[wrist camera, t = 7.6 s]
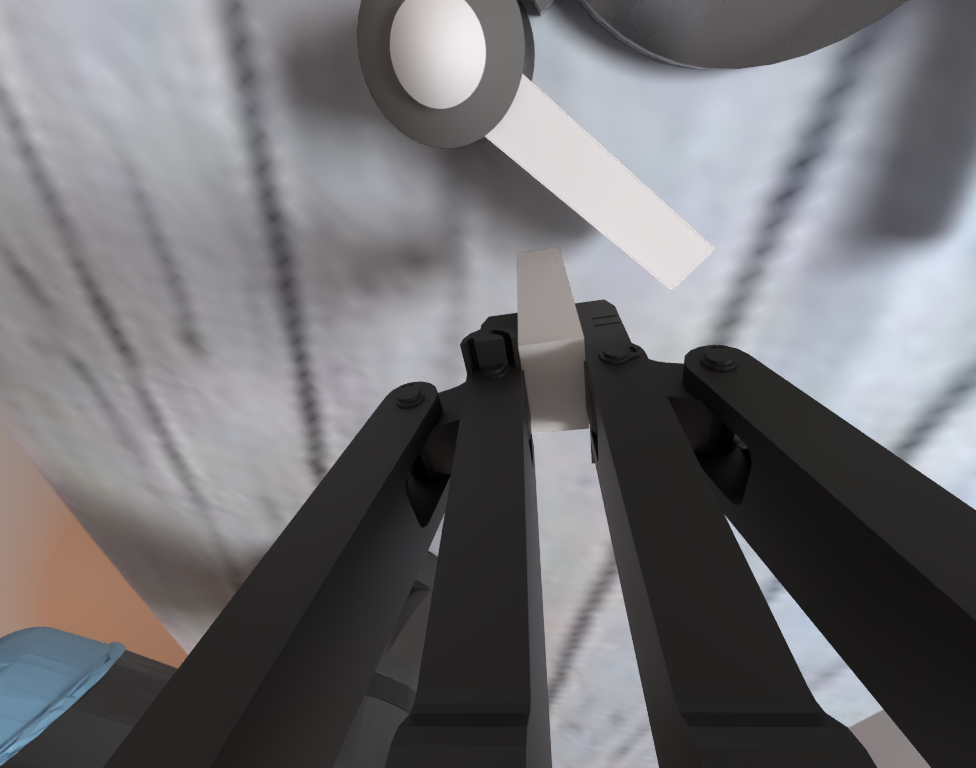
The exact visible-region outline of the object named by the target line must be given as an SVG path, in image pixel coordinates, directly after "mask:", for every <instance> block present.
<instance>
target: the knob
mask: <svg viewBox="0 0 976 768" xmlns="http://www.w3.org/2000/svg"><path fill="white" fill-rule="evenodd" d="M357 37H358V51H359V58H360V63H361V67H362V71H363V75H364V78H365V81H366V84H367V86H368V88H369V90H370V93H371V95H372V97H373V99H374V100H375V102H376V104H377V106H378V107H379V108H380V110H381V111H382V113H383V114H384V115H385V117H386V118H387V119H388V120H389V121H390V122H391V123H392V124H393V125H394V126H395V127H396V128H397V129H398V130H399V131H401V132H402V133H403V134H405V135H406V136H408V137H409V138H411V139H413V140H415V141H417V142H419V143H421V144H424V145H427V146H431V147H436V148H457V147H461V146H465V145H468V144H471V143H473V142H475V141H477V140H479V139H481V138H482V137H484V136H485V137H486V138H487V139H488V140H490V141H491V142H492V143H493V144H494V145H496V146H497V147H498V148H499V149H501V150H502V151H503V152H504V153H505V154H507V155H508V156H509V157H510V158H511V159H513V160H514V161H515V162H516V163H517V164H519V165H520V166H521V167H522V168H524V169H525V170H526V171H527V172H528V173H530V174H531V175H532V176H533V177H534V178H536V179H537V180H538V181H539V182H540V183H542V184H543V185H544V186H545V187H547V188H548V189H549V190H550V191H551V192H553V193H554V194H555V195H556V196H557V197H559V198H560V199H561V200H562V201H563V202H565V203H566V204H567V205H568V206H570V207H571V208H572V209H573V210H574V211H576V212H577V213H578V214H579V215H580V216H582V217H583V218H584V219H585V220H586V221H588V222H589V223H590V224H591V225H593V226H594V227H595V228H596V229H597V230H599V231H600V232H601V233H602V234H603V235H605V236H606V237H607V238H608V239H609V240H611V241H612V242H613V243H614V244H616V245H617V246H618V247H619V248H620V249H622V250H623V251H624V252H625V253H626V254H628V255H629V256H630V257H631V258H632V259H634V260H635V261H636V262H637V263H639V264H640V265H641V266H642V267H643V268H645V269H646V270H647V271H648V272H649V273H651V274H652V275H653V276H654V277H656V278H657V279H658V280H659V281H660V282H662V283H663V284H664V285H665V286H666V287H668V288H669V289H670V290H671V291H672V290H673V289H674V288H675V287H676V286H677V285H678V284H679V283H680V282H681V281H682V280H683V279H684V278H685V277H686V276H688V275H689V274H690V273H691V272H692V271H693V270H694V269H695V268H696V267H697V266H698V265H699V264H700V263H701V262H702V261H703V260H705V259H706V258H707V257H708V256H709V255H710V254H711V253H712V252H713V251H714V250H715V248H714V247H712V246H711V245H710V244H709V243H708V242H707V241H706V240H705V239H704V238H703V237H701V236H700V235H699V234H698V233H697V232H696V231H695V230H694V229H693V228H692V227H690V226H689V225H688V224H687V223H686V222H685V221H684V220H683V219H682V218H681V217H679V216H678V215H677V214H676V213H675V212H674V211H673V210H672V209H671V208H670V207H669V206H667V205H666V204H665V203H664V202H663V201H662V200H661V199H660V198H659V197H658V196H656V195H655V194H654V193H653V192H652V191H651V190H650V189H649V188H648V187H647V186H645V185H644V184H643V183H642V182H641V181H640V180H639V179H638V178H637V177H636V176H634V175H633V174H632V173H631V172H630V171H629V170H628V169H627V168H626V167H625V166H623V165H622V164H621V163H620V162H619V161H618V160H617V159H616V158H615V157H614V156H612V155H611V154H610V153H609V152H608V151H607V150H606V149H605V148H604V147H603V146H602V145H600V144H599V143H598V142H597V141H596V140H595V139H594V138H593V137H592V136H591V135H589V134H588V133H587V132H586V131H585V130H584V129H583V128H582V127H581V126H580V125H578V124H577V123H576V122H575V121H574V120H573V119H572V118H571V117H570V116H569V115H567V114H566V113H565V112H564V111H563V110H562V109H561V108H560V107H559V106H558V105H556V104H555V103H554V102H553V101H552V100H551V99H550V98H549V97H548V96H547V95H545V94H544V93H543V92H542V91H541V90H540V89H539V88H538V87H537V86H536V85H535V84H533V83H532V82H531V81H530V80H529V79H528V78H527V77H526V76H525V75H524V74H522V72H523V66H524V55H525V39H524V29H523V22H522V17H521V13H520V9H519V6H518V3H517V0H362V1H361V5H360V10H359V16H358V28H357Z"/></svg>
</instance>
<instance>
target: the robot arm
mask: <svg viewBox="0 0 976 768" xmlns="http://www.w3.org/2000/svg"><path fill="white" fill-rule="evenodd" d="M517 298H518V313H513V314H505V315H498V316H491V317H488V318H487V319H486V321H485V322H484V323H483V324H482V325H481V330H478V331H475V332H473V333H471V334H469V335H468V336H467V337H465V338H464V339H463V340H462V342H461V344H460V346H461V350H462V354H463V358H464V362H465V367H466V371H467V379H466V382H464V383H463V384H461V385H459V386H457V387H455V388H452V389H449V390H446V391H443V392H440V393H438V392H437V389H436V387H435V386H434V385H432V384H431V383H427V382H411V383H407V384H404V385H401V386H400V387H398V388H396V389H394V390H393V391H391V392H390V393H389V394H388V395H387V396H386V397H385V398H384V400H383V401H382V402H381V404H380V405H379V406H378V408H377V409H376V410H375V412H374V413H373V414H372V415H371V417H370V418H369V419H368V421H367V422H366V423H365V425H364V426H363V427H362V429H361V430H360V431H359V433H358V434H357V435H356V436H355V438H354V439H353V440H352V442H351V443H350V444H349V446H348V447H347V448H346V450H345V451H344V452H343V453H342V455H341V456H340V457H339V459H338V460H337V461H336V463H335V464H334V465H333V467H332V468H331V469H330V471H329V472H328V473H327V474H326V476H325V477H324V478H323V480H322V481H321V482H320V484H319V485H318V486H317V488H316V489H315V490H314V491H313V493H312V494H311V495H310V497H309V498H308V499H307V501H306V502H305V503H304V505H303V506H302V507H301V509H300V510H299V511H298V512H297V514H296V515H295V516H294V518H293V519H292V520H291V522H290V523H289V524H288V526H287V527H286V528H285V529H284V531H283V532H282V533H281V535H280V536H279V537H278V539H277V540H276V541H275V543H274V544H273V545H272V547H271V548H270V549H269V550H268V552H267V553H266V554H265V556H264V557H263V558H262V560H261V561H260V562H259V564H258V565H257V566H256V567H255V569H254V570H253V571H252V573H251V574H250V575H249V577H248V578H247V579H246V581H245V582H244V583H243V585H242V586H241V587H240V588H239V590H238V591H237V592H236V594H235V595H234V596H233V598H232V599H231V600H230V602H229V603H228V604H227V605H226V607H225V608H224V609H223V611H222V612H221V613H220V615H219V616H218V617H217V619H216V620H215V621H214V622H213V624H212V625H211V626H210V628H209V629H208V630H207V632H206V633H205V634H204V636H203V637H202V638H201V640H200V641H199V642H198V643H197V645H196V646H195V647H194V649H193V650H192V651H191V653H190V654H189V655H188V657H187V658H186V659H185V661H184V662H183V663H182V664H181V666H180V667H179V668H175V667H172V666H169V665H167V664H164V663H161V662H158V661H155V660H153V659H150V658H147V657H144V656H141V655H139V654H136V653H133V652H131V651H128V650H125V646H123V645H122V644H121V643H119V642H112V643H110V644H106V643H103V642H100V641H96V640H93V639H89V638H85V637H82V636H79V635H75V634H72V633H68V632H65V631H61V630H58V629H55V628H49V627H33V628H26V629H23V630H19V631H16V632H13V633H11V634H8V635H6V636H3V637H1V638H0V768H552V758H551V741H550V723H549V706H548V688H547V671H546V653H545V635H544V618H543V600H542V583H541V565H540V548H539V530H538V513H537V495H536V478H535V460H534V446H533V439H532V434H534V433H544V432H555V431H565V430H576V429H586V428H589V424H590V436H591V455H592V463H595V464H596V469H597V474H598V478H599V483H600V488H601V493H602V497H603V502H604V507H605V512H606V516H607V521H608V526H609V531H610V536H611V540H612V545H613V550H614V555H615V559H616V564H617V569H618V574H619V578H620V583H621V588H622V593H623V597H624V602H625V607H626V612H627V616H628V621H629V626H630V631H631V635H632V640H633V645H634V650H635V654H636V659H637V664H638V669H639V674H640V678H641V683H642V688H643V693H644V697H645V702H646V707H647V712H648V716H649V721H650V726H651V731H652V735H653V740H654V745H655V750H656V754H657V759H658V764H659V768H877V767H876V765H875V763H874V762H873V760H872V758H871V757H870V755H869V754H868V752H867V750H866V749H865V748H864V746H863V745H862V744H861V743H860V742H859V741H858V739H857V738H856V737H855V736H854V734H853V733H852V732H851V731H850V730H849V729H848V727H846V726H845V725H843V724H842V723H840V722H839V721H837V720H836V719H834V718H832V717H831V716H829V715H828V714H826V713H825V712H824V711H823V709H822V708H821V707H820V706H819V704H818V703H817V702H816V700H815V698H814V697H813V695H812V693H811V691H810V690H809V688H808V686H807V684H806V682H805V680H804V678H803V676H802V674H801V672H800V670H799V668H798V665H797V663H796V661H795V659H794V657H793V655H792V653H791V651H790V649H789V647H788V645H787V643H786V641H785V639H784V637H783V635H782V633H781V630H780V628H779V626H778V624H777V622H776V620H775V618H774V616H773V614H772V612H771V610H770V608H769V606H768V604H767V602H766V600H765V598H764V595H763V593H762V591H761V589H760V587H759V585H758V583H757V581H756V579H755V577H754V575H753V573H752V571H751V569H750V567H749V565H748V563H747V561H746V558H745V556H744V554H743V552H742V550H741V548H740V546H739V544H738V542H737V540H736V538H735V536H734V534H733V532H732V530H731V528H730V526H729V523H728V521H727V519H726V517H727V518H728V519H729V521H730V522H731V523H732V524H733V525H734V527H735V528H736V529H737V530H738V532H739V533H740V534H741V535H742V536H743V538H744V539H745V540H746V541H747V543H748V544H749V545H750V546H751V547H752V549H753V550H754V551H755V552H756V554H757V555H758V556H759V557H760V559H761V560H762V561H763V562H764V563H765V565H766V566H767V567H768V568H769V570H770V571H771V572H772V573H773V574H774V576H775V577H776V578H777V579H778V581H779V582H780V583H781V584H782V585H783V587H784V588H785V589H786V590H787V592H788V593H789V594H790V595H791V596H792V598H793V599H794V600H795V601H796V603H797V604H798V605H799V606H800V607H801V609H802V610H803V611H804V612H805V614H806V615H807V616H808V617H809V619H810V620H811V621H812V622H813V623H814V625H815V626H816V627H817V628H818V630H819V631H820V632H821V633H822V634H823V636H824V637H825V638H826V639H827V641H828V642H829V643H830V644H831V645H832V647H833V648H834V649H835V650H836V652H837V653H838V654H839V655H840V656H841V658H842V659H843V660H844V661H845V663H846V664H847V665H848V666H849V668H850V669H851V670H852V671H853V672H854V674H855V675H856V676H857V677H858V679H859V680H860V681H861V682H862V683H863V685H864V686H865V687H866V688H867V690H868V691H869V692H870V693H871V694H872V696H873V697H874V698H875V699H876V701H877V702H878V703H879V704H880V705H881V707H882V708H883V709H884V710H885V712H886V713H887V714H888V715H889V716H890V718H891V719H892V720H893V721H894V722H895V724H896V725H897V726H898V727H899V729H900V730H901V731H902V732H903V734H904V735H905V736H906V737H907V738H908V740H909V741H910V742H911V743H912V745H913V746H914V747H915V748H916V749H917V751H918V752H919V753H920V754H921V756H922V757H923V758H924V759H925V760H926V762H927V763H928V764H929V765H930V767H931V768H976V510H975V509H973V508H972V507H970V506H969V505H967V504H966V503H964V502H963V501H961V500H960V499H959V498H957V497H956V496H954V495H953V494H951V493H950V492H948V491H947V490H945V489H944V488H943V487H941V486H940V485H938V484H937V483H935V482H934V481H932V480H931V479H929V478H928V477H926V476H925V475H924V474H922V473H921V472H919V471H918V470H916V469H915V468H913V467H912V466H910V465H909V464H908V463H906V462H905V461H903V460H902V459H900V458H899V457H897V456H896V455H894V454H893V453H892V452H890V451H889V450H887V449H886V448H884V447H883V446H881V445H880V444H878V443H877V442H876V441H874V440H873V439H871V438H870V437H868V436H867V435H865V434H864V433H862V432H861V431H860V430H858V429H857V428H855V427H854V426H852V425H851V424H849V423H848V422H846V421H845V420H844V419H842V418H841V417H839V416H838V415H836V414H835V413H833V412H832V411H830V410H829V409H827V408H826V407H825V406H823V405H822V404H820V403H819V402H817V401H816V400H814V399H813V398H811V397H810V396H809V395H807V394H806V393H804V392H803V391H801V390H800V389H798V388H797V387H795V386H794V385H793V384H791V383H790V382H788V381H787V380H785V379H784V378H782V377H781V376H779V375H778V374H777V373H775V372H774V371H772V370H771V369H769V368H768V367H766V366H765V365H763V364H762V363H761V362H759V361H758V360H756V359H755V358H753V357H752V356H750V355H749V354H747V353H745V352H743V351H741V350H739V349H736V348H732V347H728V346H724V345H709V346H702V347H698V348H696V349H693V350H691V351H690V352H688V353H687V354H686V355H685V360H684V364H679V363H665V362H657V361H654V360H650V359H648V357H647V355H646V353H645V351H644V350H643V349H642V348H641V347H639V346H637V345H635V344H633V343H631V341H630V339H629V336H628V334H627V332H626V330H625V328H624V325H623V323H622V321H621V319H620V317H619V315H618V312H617V310H616V308H615V306H614V305H612V304H611V303H609V302H607V301H606V300H597V301H590V302H583V303H576V304H575V303H574V299H573V296H572V292H571V288H570V285H569V281H568V277H567V274H566V270H565V267H564V263H563V259H562V256H561V252H560V249H559V247H555V248H549V249H543V250H536V251H530V252H524V253H517ZM588 419H589V421H588ZM531 432H532V433H531ZM444 513H445V516H444V522H443V529H442V535H441V541H440V547H439V554H438V558H437V557H436V556H434V555H433V554H431V553H429V552H428V549H429V547H430V545H431V543H432V540H433V538H434V536H435V533H436V531H437V529H438V527H439V524H440V522H441V520H442V518H443V515H444ZM724 514H725V515H724ZM725 516H726V517H725Z"/></svg>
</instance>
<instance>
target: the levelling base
mask: <svg viewBox="0 0 976 768" xmlns="http://www.w3.org/2000/svg"><path fill="white" fill-rule="evenodd" d="M531 1H532V2H533V4H534V6H535V8H536V9H537V11H538V13H539V14H540V16H541V15H542V14H543V13H544V12H545V11H546V10H547V9H548V8H549V7H550V5H551V4H552V3H553V2H554V1H555V0H531ZM578 1H579V2H580V3H581V5H582V6H583V7H584V8H585V9H586V10H587V12H588V13H589V14H590V15H591V16H592V17H593V19H594V20H596V21H597V22H598V23H599V24H600V25H601V26H603V27H604V28H605V29H606V30H607V31H608V32H610V33H611V34H612V35H613V36H614V37H615V38H617V39H618V40H620V41H622V42H623V43H625V44H627V45H628V46H630V47H632V48H633V49H635V50H637V51H638V52H640V53H642V54H644V55H647V56H649V57H652V58H655V59H657V60H660V61H663V62H665V63H668V64H673V65H678V66H683V67H689V68H694V69H740V68H748V67H756V66H763V65H771V64H775V63H778V62H782V61H786V60H789V59H793V58H796V57H800V56H804V55H807V54H809V53H812V52H814V51H816V50H819V49H821V48H824V47H826V46H828V45H831V44H833V43H836V42H838V41H841V40H843V39H844V38H846V37H848V36H850V35H852V34H854V33H855V32H857V31H859V30H861V29H863V28H865V27H866V26H868V25H870V24H872V23H874V22H876V21H877V20H879V19H881V18H882V17H884V16H885V15H887V14H888V13H890V12H891V11H893V10H894V9H895V8H897V7H898V6H900V5H901V4H903V3H904V2H906V1H907V0H578ZM517 3H518V6H519V9H520V13H521V17H522V22H523V29H524V39H525V55H524V66H523V72H522V74H524V75H525V76H526V77H527V78H528V79H529V80H530V81H532V76H533V70H534V58H535V54H534V40H533V33H532V29H531V25H530V21H529V18H528V16H527V13H526V10H525V8H524V6H523V4H522V2H521V0H517ZM484 139H486V137H485V136H484V137H482V138H481V139H479V140H477V141H480V140H484ZM477 141H475V142H477Z"/></svg>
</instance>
